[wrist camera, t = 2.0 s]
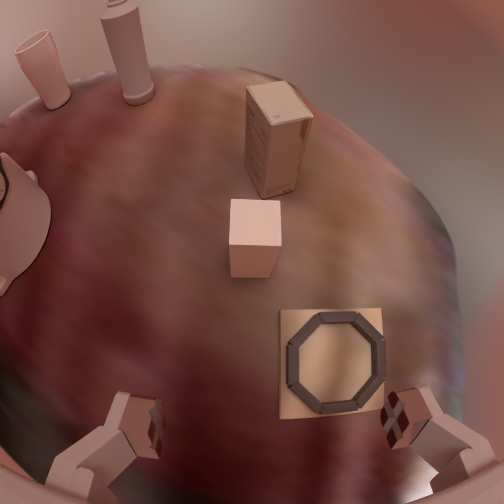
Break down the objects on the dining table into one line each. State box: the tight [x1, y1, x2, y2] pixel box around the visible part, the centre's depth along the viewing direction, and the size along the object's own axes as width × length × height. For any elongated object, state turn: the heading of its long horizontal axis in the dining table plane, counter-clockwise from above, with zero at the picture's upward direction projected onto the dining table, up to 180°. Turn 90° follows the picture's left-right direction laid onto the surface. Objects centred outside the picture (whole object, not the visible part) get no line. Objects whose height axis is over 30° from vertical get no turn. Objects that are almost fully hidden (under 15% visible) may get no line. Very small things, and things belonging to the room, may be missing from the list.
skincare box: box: [244, 81, 313, 199], centre depth 31 cm, size 6×4×12 cm
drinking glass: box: [14, 30, 71, 110], centre depth 34 cm, size 7×7×15 cm
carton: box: [229, 199, 281, 278], centre depth 28 cm, size 4×4×9 cm
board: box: [279, 308, 386, 419], centre depth 27 cm, size 11×11×2 cm
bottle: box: [100, 0, 155, 106], centre depth 29 cm, size 5×5×25 cm
